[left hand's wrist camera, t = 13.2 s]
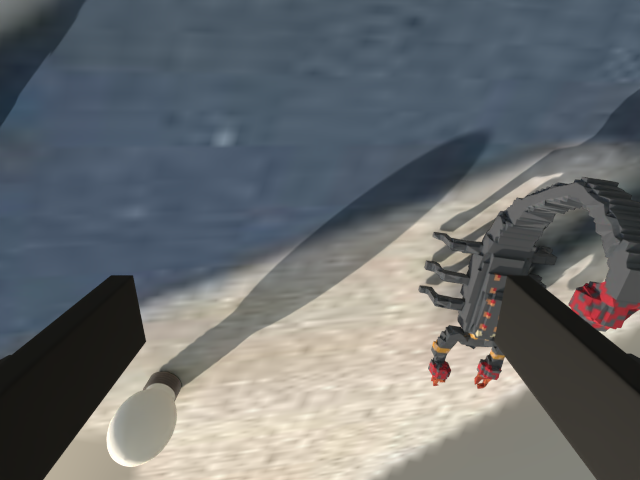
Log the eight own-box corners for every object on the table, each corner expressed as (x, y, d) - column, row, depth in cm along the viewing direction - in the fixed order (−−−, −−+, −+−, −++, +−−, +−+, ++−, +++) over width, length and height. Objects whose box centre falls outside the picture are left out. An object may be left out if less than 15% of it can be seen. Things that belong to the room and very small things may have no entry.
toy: (580, 167, 37) (801, 218, 20) (500, 373, 47) (606, 529, 29) (455, 149, 37) (574, 185, 20) (399, 361, 46) (447, 513, 29)
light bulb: (131, 386, 47) (79, 464, 37) (156, 352, 45) (108, 424, 35) (176, 410, 49) (138, 492, 38) (202, 378, 47) (169, 455, 36)
